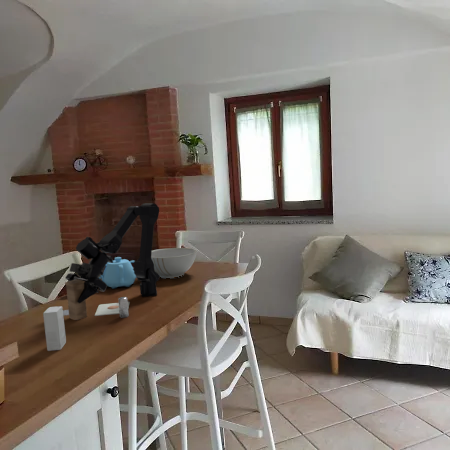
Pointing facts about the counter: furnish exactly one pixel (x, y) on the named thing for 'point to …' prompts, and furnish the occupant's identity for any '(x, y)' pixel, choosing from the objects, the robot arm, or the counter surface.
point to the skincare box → (54, 328)
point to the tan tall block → (75, 299)
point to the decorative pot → (119, 273)
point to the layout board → (103, 309)
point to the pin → (123, 307)
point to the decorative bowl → (172, 261)
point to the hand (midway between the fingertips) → (73, 301)
